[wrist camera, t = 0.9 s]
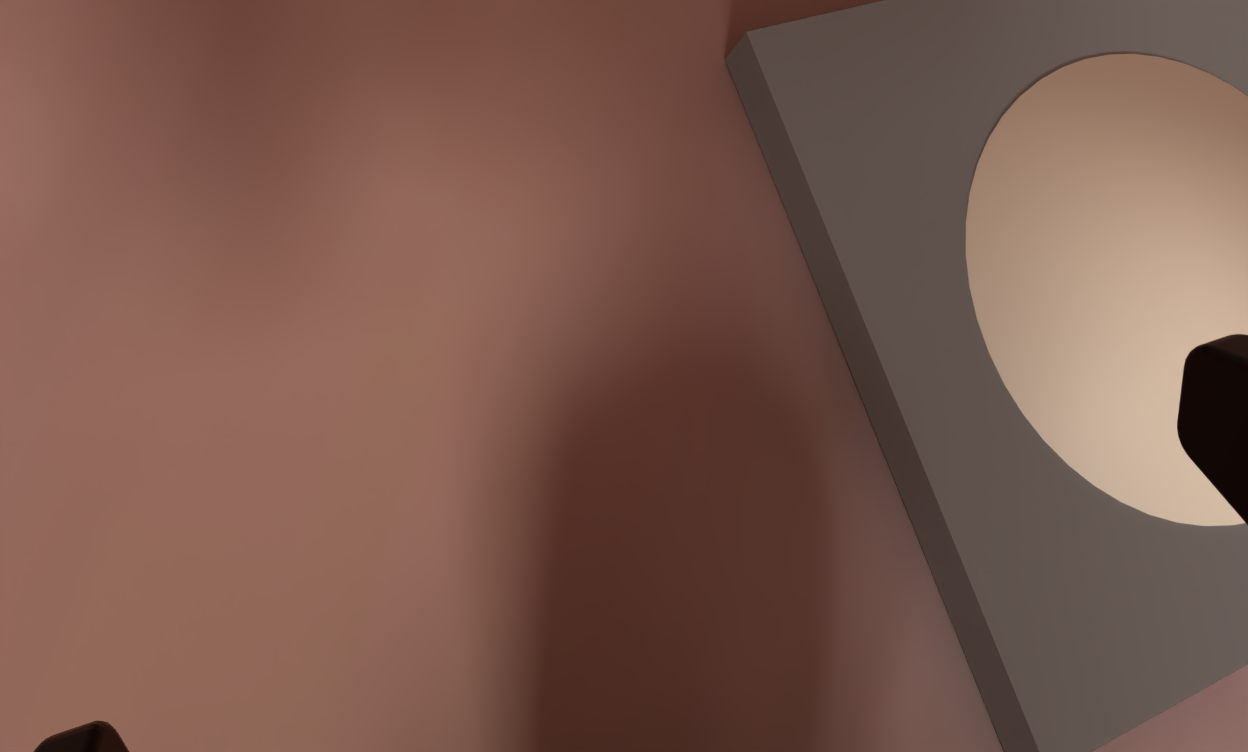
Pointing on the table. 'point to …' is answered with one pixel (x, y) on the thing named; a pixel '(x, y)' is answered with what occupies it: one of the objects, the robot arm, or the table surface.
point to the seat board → (1034, 319)
